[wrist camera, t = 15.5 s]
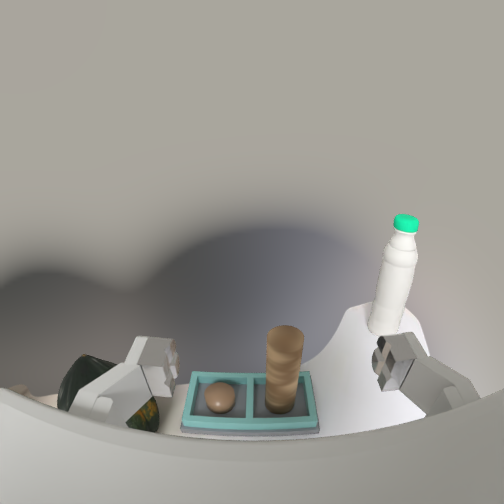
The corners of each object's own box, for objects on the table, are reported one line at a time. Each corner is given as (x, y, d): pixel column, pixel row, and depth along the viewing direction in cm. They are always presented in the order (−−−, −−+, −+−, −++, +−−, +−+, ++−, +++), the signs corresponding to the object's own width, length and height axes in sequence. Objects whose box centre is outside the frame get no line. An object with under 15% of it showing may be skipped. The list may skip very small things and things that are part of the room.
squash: (122, 485, 22) (122, 370, 26) (41, 440, 25) (40, 342, 29) (171, 452, 35) (176, 365, 40) (97, 426, 38) (100, 347, 43)
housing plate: (181, 432, 36) (176, 419, 34) (192, 380, 46) (189, 366, 44) (318, 433, 35) (322, 420, 34) (309, 380, 45) (312, 366, 44)
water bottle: (360, 325, 58) (381, 212, 48) (382, 315, 60) (404, 209, 50) (381, 343, 52) (410, 225, 42) (403, 331, 55) (432, 220, 44)
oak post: (265, 414, 38) (267, 349, 32) (264, 392, 42) (266, 325, 36) (295, 413, 38) (306, 348, 32) (293, 391, 42) (301, 324, 36)
